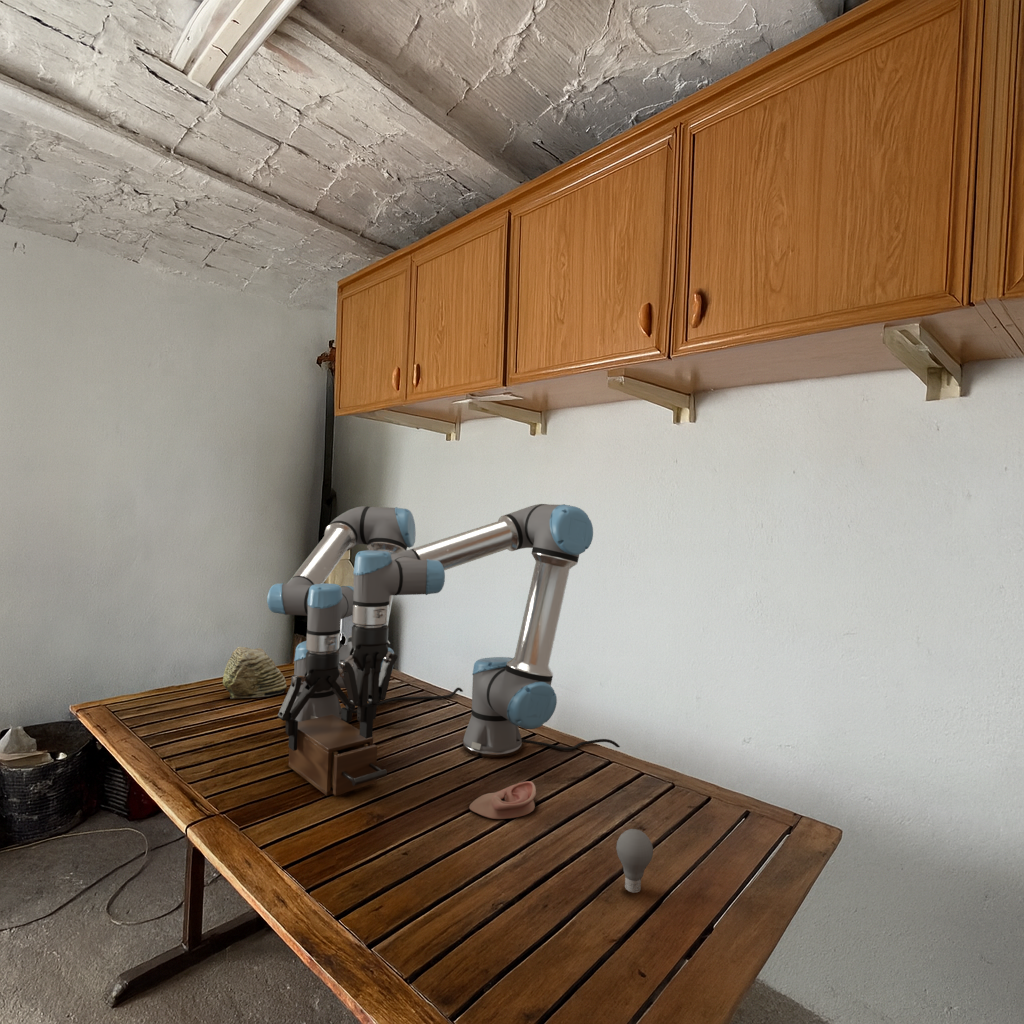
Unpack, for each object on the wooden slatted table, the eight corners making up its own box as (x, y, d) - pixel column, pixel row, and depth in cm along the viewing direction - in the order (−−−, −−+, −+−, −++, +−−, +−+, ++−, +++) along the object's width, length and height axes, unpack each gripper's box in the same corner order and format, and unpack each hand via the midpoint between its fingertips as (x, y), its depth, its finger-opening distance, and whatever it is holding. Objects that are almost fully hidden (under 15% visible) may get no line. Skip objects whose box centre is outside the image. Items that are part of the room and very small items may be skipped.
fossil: (218, 695, 195) (220, 647, 195) (278, 685, 208) (279, 640, 207) (228, 703, 189) (230, 653, 188) (289, 692, 201) (290, 645, 201)
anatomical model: (465, 795, 128) (479, 772, 140) (464, 815, 128) (479, 790, 140) (530, 804, 126) (539, 780, 137) (529, 824, 126) (538, 798, 137)
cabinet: (371, 782, 142) (373, 737, 141) (326, 796, 134) (328, 749, 134) (331, 754, 155) (332, 714, 155) (288, 766, 148) (290, 723, 148)
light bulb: (610, 879, 108) (613, 822, 108) (644, 879, 109) (647, 822, 109) (619, 902, 102) (622, 840, 102) (655, 901, 103) (658, 840, 103)
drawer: (390, 792, 135) (392, 754, 135) (349, 806, 128) (351, 766, 128) (336, 756, 152) (337, 722, 152) (298, 767, 145) (299, 731, 145)
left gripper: (278, 661, 137) (274, 760, 137) (377, 647, 154) (373, 735, 154) (264, 654, 142) (260, 749, 143) (361, 641, 159) (357, 726, 159)
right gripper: (351, 631, 126) (346, 748, 126) (406, 624, 135) (402, 734, 135) (333, 624, 131) (328, 737, 132) (387, 618, 140) (383, 724, 141)
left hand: (319, 742), depth 148 cm, fingers open, 12 cm apart
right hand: (365, 735), depth 133 cm, fingers closed
